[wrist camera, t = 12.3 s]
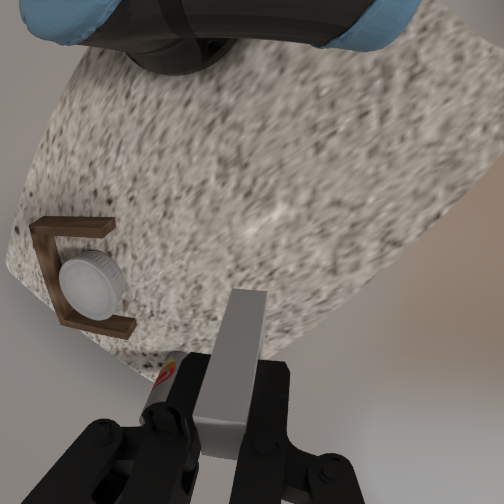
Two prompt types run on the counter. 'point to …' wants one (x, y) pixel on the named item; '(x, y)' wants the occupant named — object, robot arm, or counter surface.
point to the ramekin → (92, 284)
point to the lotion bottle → (164, 380)
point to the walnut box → (51, 266)
